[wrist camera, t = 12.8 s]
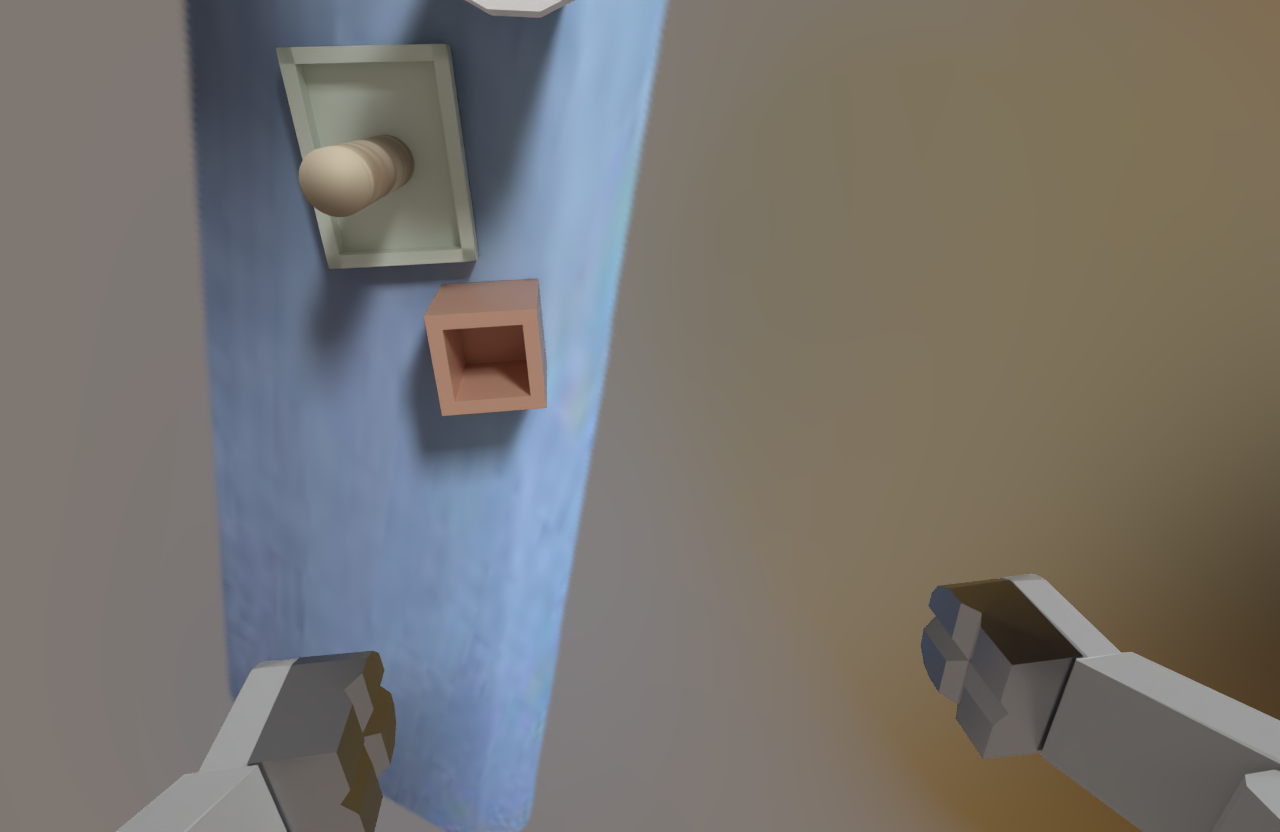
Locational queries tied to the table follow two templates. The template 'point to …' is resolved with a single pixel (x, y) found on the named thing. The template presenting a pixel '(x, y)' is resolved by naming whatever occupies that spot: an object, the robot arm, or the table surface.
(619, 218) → the table surface
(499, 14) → the foam cup
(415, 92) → the tray
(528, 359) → the brown hollow block
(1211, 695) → the robot arm
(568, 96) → the table surface
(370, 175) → the dowel
